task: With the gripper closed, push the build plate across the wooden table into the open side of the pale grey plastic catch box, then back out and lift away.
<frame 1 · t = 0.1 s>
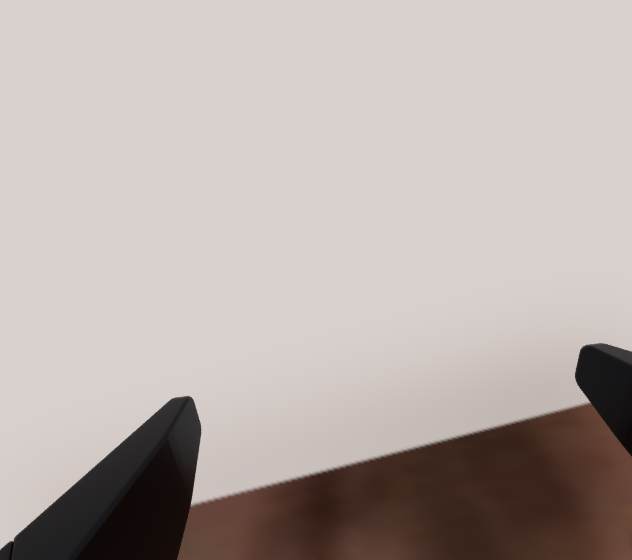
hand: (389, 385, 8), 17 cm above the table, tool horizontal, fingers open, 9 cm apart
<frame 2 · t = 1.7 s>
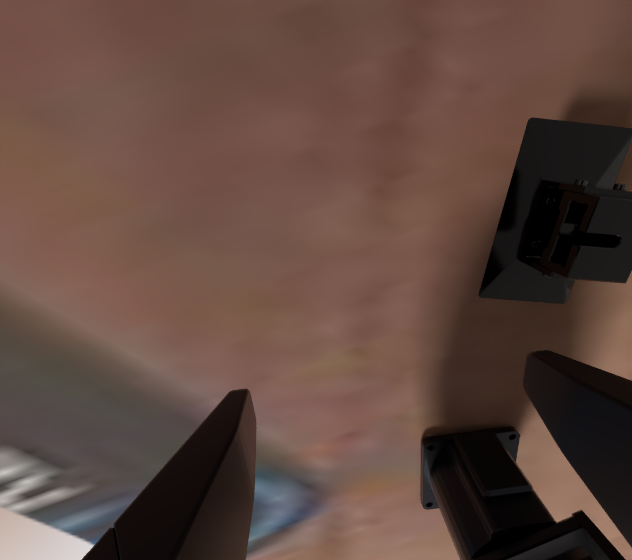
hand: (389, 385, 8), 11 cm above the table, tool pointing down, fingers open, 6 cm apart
build plate: (540, 218, 19), on the table
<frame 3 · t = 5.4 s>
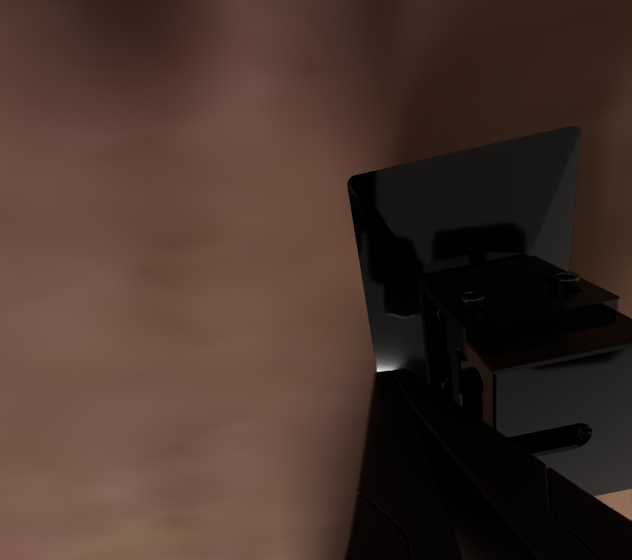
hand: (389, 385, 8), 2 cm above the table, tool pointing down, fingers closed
build plate: (457, 314, 11), on the table, touching gripper
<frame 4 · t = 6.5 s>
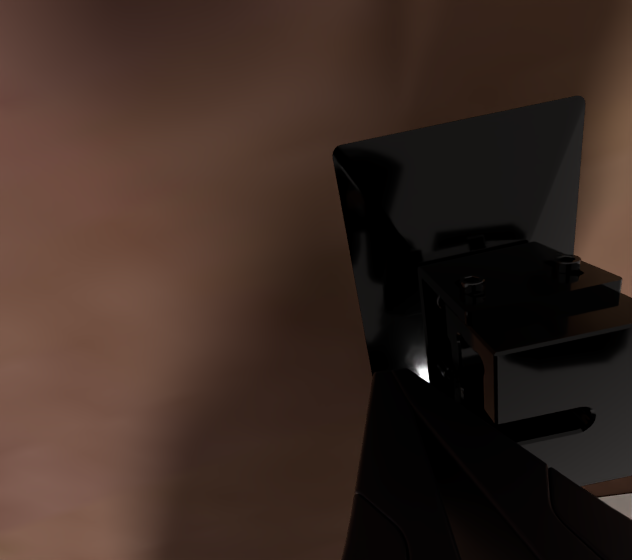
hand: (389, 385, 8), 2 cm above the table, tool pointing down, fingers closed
build plate: (457, 304, 11), on the table
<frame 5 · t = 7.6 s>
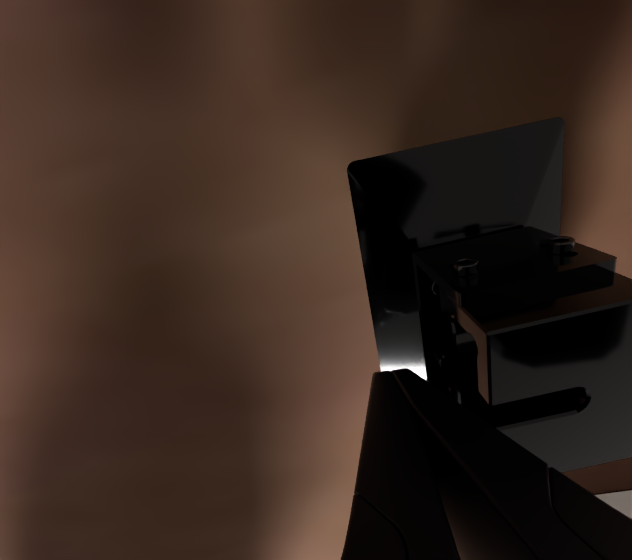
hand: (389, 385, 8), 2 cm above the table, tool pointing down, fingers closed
build plate: (453, 292, 11), on the table
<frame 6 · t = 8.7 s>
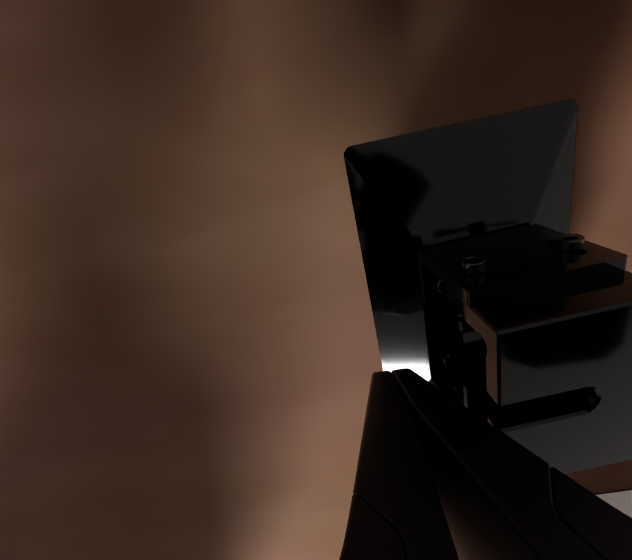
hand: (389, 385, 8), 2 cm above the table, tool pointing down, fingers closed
build plate: (458, 291, 10), on the table
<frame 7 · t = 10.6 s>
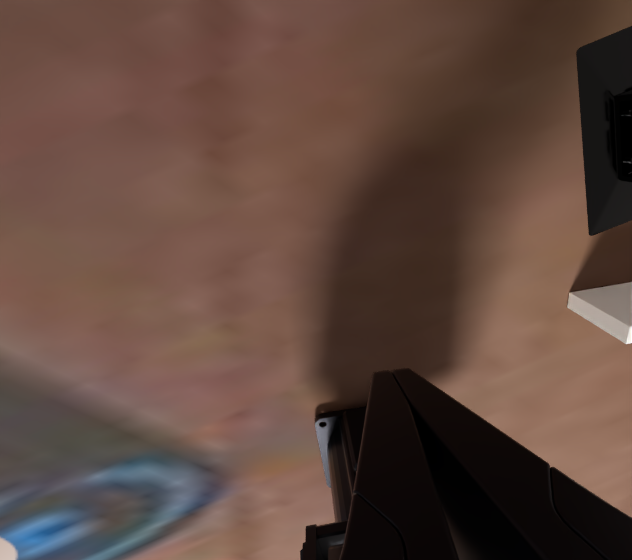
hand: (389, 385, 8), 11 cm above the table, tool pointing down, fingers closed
build plate: (625, 128, 18), on the table
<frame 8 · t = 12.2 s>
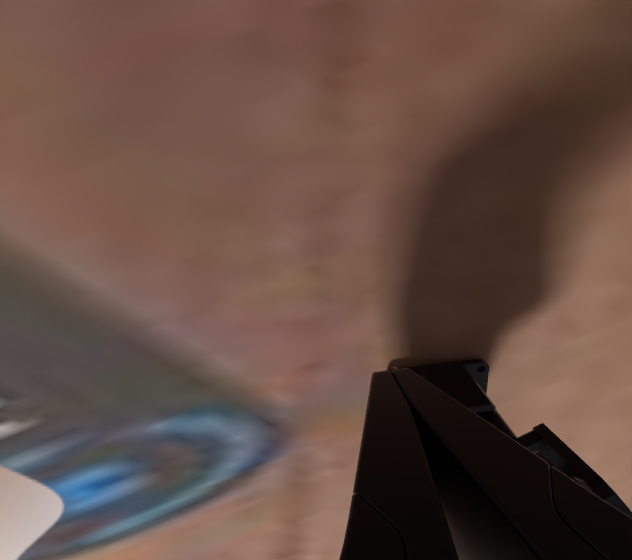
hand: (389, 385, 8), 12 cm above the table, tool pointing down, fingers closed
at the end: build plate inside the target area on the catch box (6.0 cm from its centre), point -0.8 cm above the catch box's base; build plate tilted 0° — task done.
